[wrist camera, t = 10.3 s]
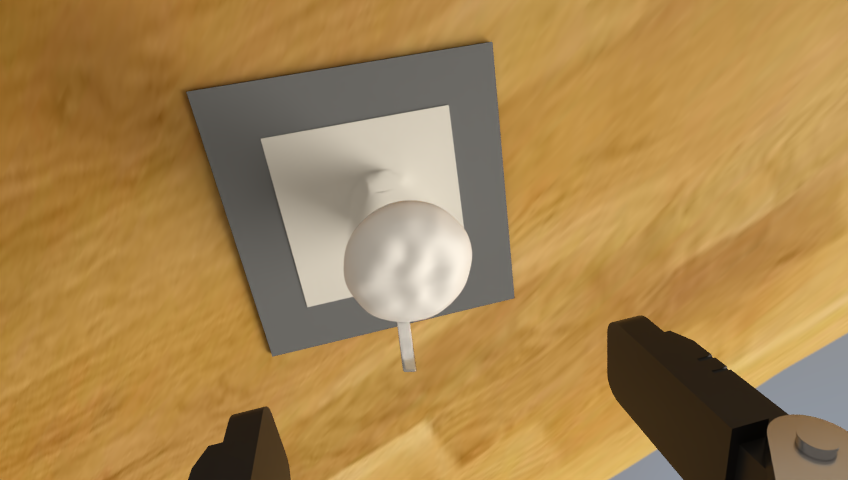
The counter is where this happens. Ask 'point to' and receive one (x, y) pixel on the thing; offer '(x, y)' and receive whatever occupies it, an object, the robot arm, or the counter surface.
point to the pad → (353, 178)
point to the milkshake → (403, 254)
